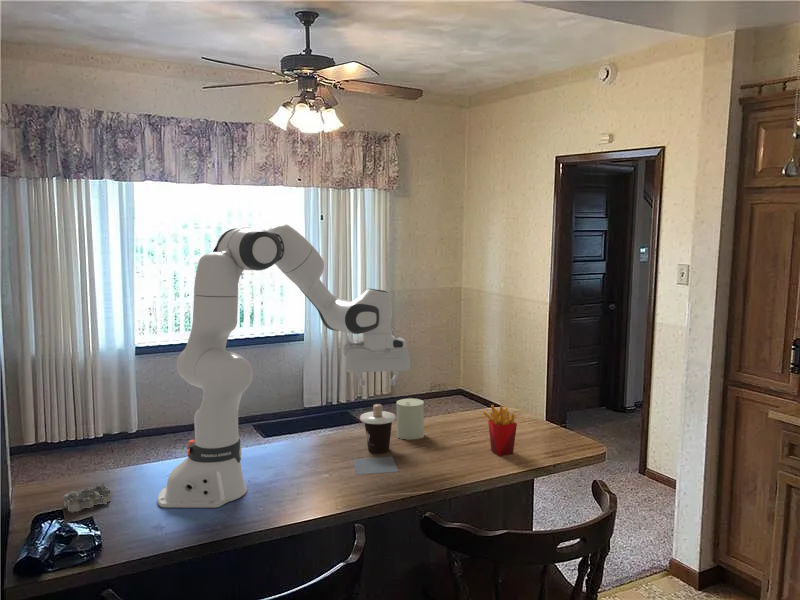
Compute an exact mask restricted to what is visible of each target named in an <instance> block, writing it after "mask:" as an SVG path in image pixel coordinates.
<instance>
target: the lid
mask: <svg viewBox="0 0 800 600" xmlns="http://www.w3.org/2000/svg"><path fill="white" fill-rule="evenodd" d="M372 408H373V409H372V411H368V412H367V411H366V412H364V413H361V414H360V415H359V420H360V422H362V423H364V424H365V423H368V424H386V423H390V422H392V423H393V422H395V420H397V415H396V414H395V413H393V412H389V411H385V410H383V405H382V404H381V403H375V404H373V406H372Z"/></svg>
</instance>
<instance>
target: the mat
mask: <svg viewBox="0 0 800 600" xmlns="http://www.w3.org/2000/svg"><path fill="white" fill-rule="evenodd" d="M352 462H353V466H354V470H355V474H356V476H358V475H370V474H371V475H372V474H384V473H398V472H399V469H398V467H397V465H396V462H395V460H394V458H393V456H382V457H381V456H380V457H365V458H352Z"/></svg>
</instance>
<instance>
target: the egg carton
mask: <svg viewBox="0 0 800 600" xmlns="http://www.w3.org/2000/svg"><path fill="white" fill-rule="evenodd" d="M99 494H100V495H103V497H101V496H99ZM111 495H113V492H111V489H109V487H108V486H107V485H106V484H105V482H102V483H100V484H98V485H96V486H91V487H86V488H84V489H80V490H77V491H76V490H73V491H68V492H66V493H65V494H64V495H63V496H62V499H63V503H64V505H63V506H65V507H67V506H68V508H67V512H68V511H79V510H80V509H81V508H83V507H93V506H94V505H95V504H97V503H103V504H105V503H107V502H108V501H109V500H111V501H112V499H111V497H112V496H111ZM83 498H86V499H83ZM65 507H64V508H65ZM80 511H81V510H80Z"/></svg>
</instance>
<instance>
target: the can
mask: <svg viewBox="0 0 800 600" xmlns="http://www.w3.org/2000/svg"><path fill="white" fill-rule="evenodd" d="M424 406H425V402H424V400H422V399H419V398H412V397H410V398H402V399H399V400H396V438H398V439H399V438H400V440H402V439H406V441H407V440H409V441H410V440H421V439H423V438H424V437H425V429H424V428H425V425H424V424H425V423H424V422H425V421H424V420H425V419H424V418H425V417H424V415H425V412H424V411H425V409H424ZM420 438H421V439H420Z"/></svg>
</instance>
